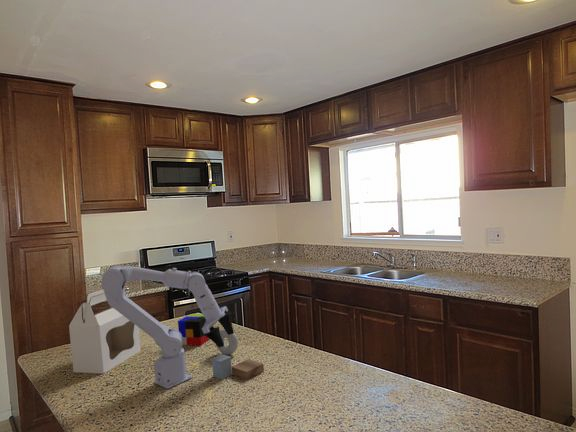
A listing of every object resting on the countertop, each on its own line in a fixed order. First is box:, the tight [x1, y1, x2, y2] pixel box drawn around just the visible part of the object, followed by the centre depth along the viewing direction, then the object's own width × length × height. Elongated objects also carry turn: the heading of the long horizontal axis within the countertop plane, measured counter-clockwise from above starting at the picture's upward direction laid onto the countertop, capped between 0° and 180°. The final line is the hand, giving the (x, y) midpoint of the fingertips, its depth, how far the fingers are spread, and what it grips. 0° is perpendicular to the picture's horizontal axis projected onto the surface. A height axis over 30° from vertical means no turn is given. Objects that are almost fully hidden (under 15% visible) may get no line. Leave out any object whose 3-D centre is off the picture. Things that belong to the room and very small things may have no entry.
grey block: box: [210, 353, 233, 380], centre depth 134 cm, size 5×5×6 cm
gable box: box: [68, 288, 141, 375], centre depth 154 cm, size 22×13×28 cm, turn 165°
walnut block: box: [231, 358, 265, 381], centre depth 135 cm, size 8×8×3 cm
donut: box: [215, 328, 239, 356], centre depth 152 cm, size 10×4×10 cm, turn 61°
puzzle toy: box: [177, 313, 210, 346], centre depth 170 cm, size 10×10×10 cm
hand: (226, 339), depth 137 cm, fingers open, 7 cm apart
